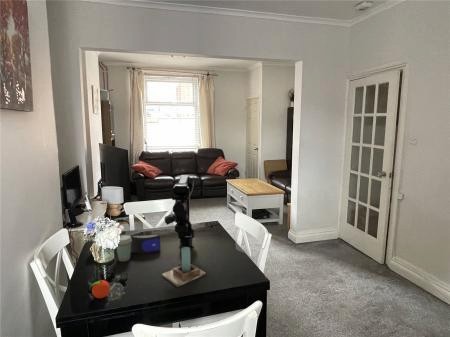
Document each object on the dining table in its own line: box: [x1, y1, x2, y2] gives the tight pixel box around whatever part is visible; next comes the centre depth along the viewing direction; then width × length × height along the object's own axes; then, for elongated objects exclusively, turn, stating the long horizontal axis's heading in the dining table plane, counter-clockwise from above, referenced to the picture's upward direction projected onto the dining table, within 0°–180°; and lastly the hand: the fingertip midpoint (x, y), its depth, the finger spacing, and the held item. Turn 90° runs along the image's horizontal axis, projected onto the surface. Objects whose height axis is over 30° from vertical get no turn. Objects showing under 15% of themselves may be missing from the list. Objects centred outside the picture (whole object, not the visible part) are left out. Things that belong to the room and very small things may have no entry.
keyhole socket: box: [161, 262, 207, 288], centre depth 140 cm, size 16×13×4 cm
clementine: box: [89, 279, 111, 299], centre depth 122 cm, size 8×7×7 cm
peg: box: [180, 247, 191, 273], centre depth 137 cm, size 4×4×13 cm
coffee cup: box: [116, 234, 132, 262], centre depth 156 cm, size 8×8×12 cm
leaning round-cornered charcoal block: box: [131, 234, 162, 255], centre depth 164 cm, size 16×5×9 cm, turn 98°
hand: (182, 238), depth 151 cm, fingers open, 9 cm apart
